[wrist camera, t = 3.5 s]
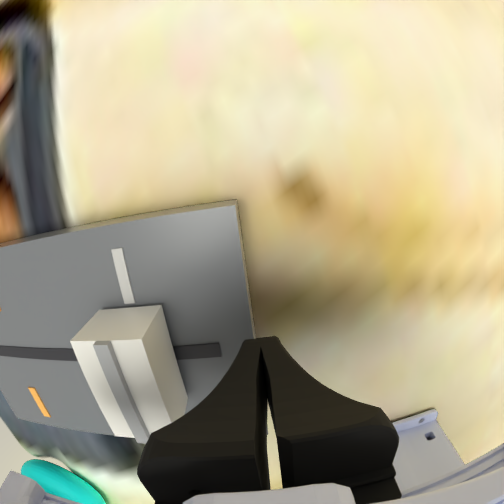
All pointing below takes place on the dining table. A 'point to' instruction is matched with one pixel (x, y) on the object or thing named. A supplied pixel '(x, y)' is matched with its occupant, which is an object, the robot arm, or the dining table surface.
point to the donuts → (61, 482)
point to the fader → (132, 369)
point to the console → (120, 303)
